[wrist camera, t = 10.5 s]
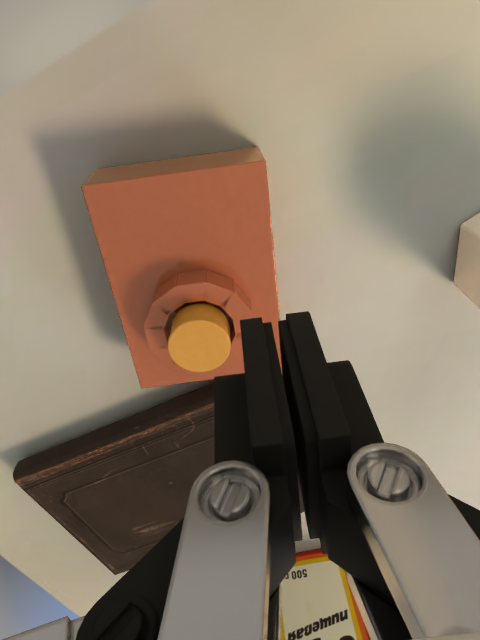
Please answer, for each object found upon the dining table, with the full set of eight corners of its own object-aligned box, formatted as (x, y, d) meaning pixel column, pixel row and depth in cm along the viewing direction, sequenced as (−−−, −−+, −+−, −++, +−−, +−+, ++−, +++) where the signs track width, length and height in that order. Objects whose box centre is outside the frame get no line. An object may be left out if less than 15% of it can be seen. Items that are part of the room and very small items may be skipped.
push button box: (97, 168, 28) (71, 194, 23) (258, 146, 28) (269, 167, 23) (148, 354, 35) (137, 406, 30) (277, 337, 35) (288, 386, 30)
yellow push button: (164, 307, 27) (161, 324, 25) (225, 298, 27) (226, 316, 25) (176, 356, 29) (174, 376, 27) (233, 349, 29) (234, 368, 27)
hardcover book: (326, 482, 44) (332, 502, 42) (118, 553, 48) (114, 575, 46) (260, 359, 36) (263, 377, 34) (19, 456, 40) (9, 477, 38)
